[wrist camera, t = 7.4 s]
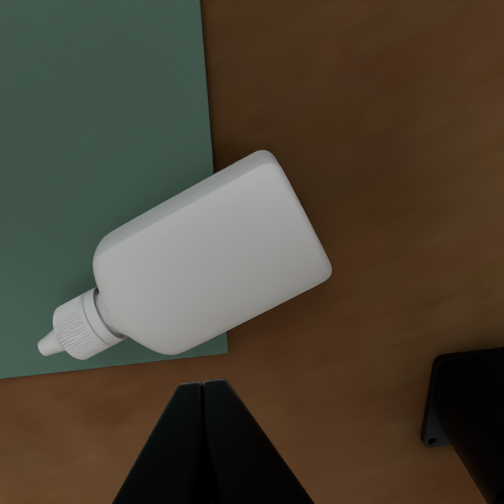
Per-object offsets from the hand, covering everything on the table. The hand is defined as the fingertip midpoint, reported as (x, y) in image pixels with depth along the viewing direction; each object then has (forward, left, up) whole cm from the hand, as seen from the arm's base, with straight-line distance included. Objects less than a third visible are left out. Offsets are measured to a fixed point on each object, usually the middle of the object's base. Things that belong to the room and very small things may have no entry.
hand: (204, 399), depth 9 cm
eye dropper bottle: (-1, -4, -10) cm, 11 cm away
